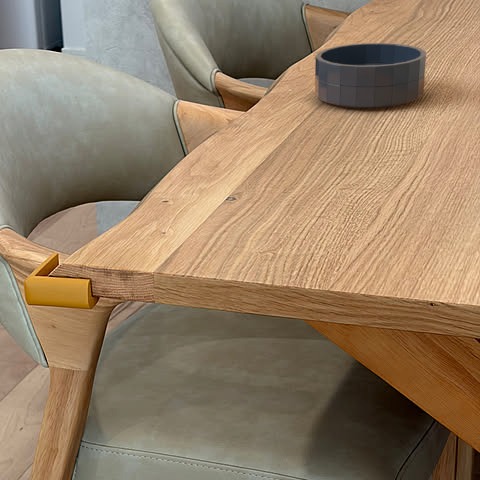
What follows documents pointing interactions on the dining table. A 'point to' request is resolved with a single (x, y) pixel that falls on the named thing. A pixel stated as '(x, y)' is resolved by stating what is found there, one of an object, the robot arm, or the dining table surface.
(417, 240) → the dining table surface
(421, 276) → the dining table surface
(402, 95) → the bowl
